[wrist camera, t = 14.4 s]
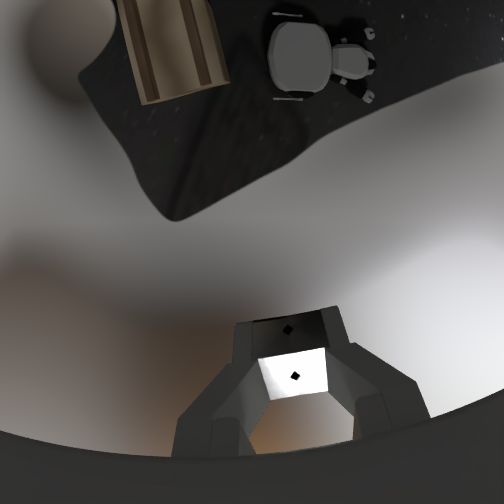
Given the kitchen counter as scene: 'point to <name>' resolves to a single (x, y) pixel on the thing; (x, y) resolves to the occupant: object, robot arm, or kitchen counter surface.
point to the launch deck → (172, 47)
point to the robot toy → (317, 59)
